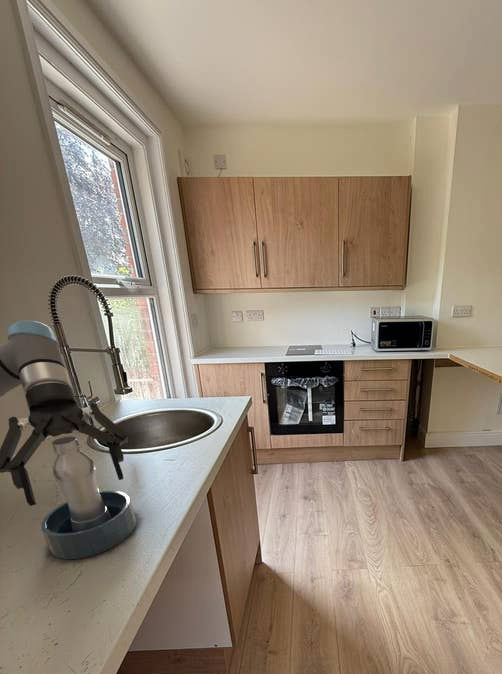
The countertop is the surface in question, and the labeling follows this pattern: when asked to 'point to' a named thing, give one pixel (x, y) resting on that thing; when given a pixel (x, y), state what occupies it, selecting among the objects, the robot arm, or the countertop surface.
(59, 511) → the bowl
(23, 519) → the countertop surface
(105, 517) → the plastic bottle
